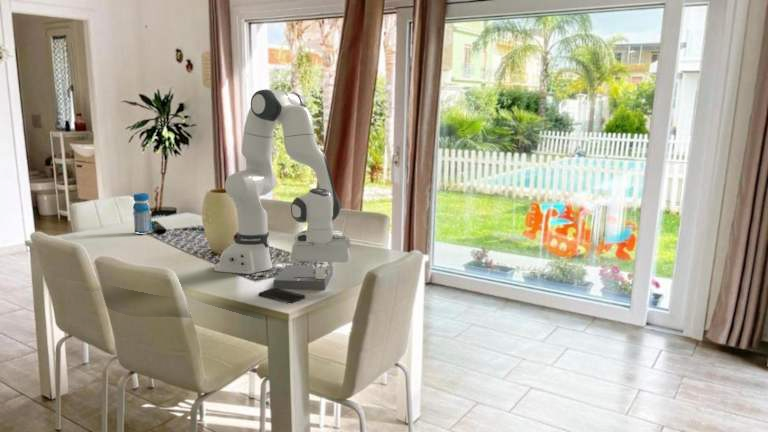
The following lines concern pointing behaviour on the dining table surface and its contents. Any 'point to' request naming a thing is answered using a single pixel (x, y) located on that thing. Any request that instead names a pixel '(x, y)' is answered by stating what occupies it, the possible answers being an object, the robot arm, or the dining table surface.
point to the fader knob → (320, 271)
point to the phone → (281, 295)
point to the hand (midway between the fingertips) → (320, 273)
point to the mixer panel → (300, 278)
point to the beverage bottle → (142, 213)
